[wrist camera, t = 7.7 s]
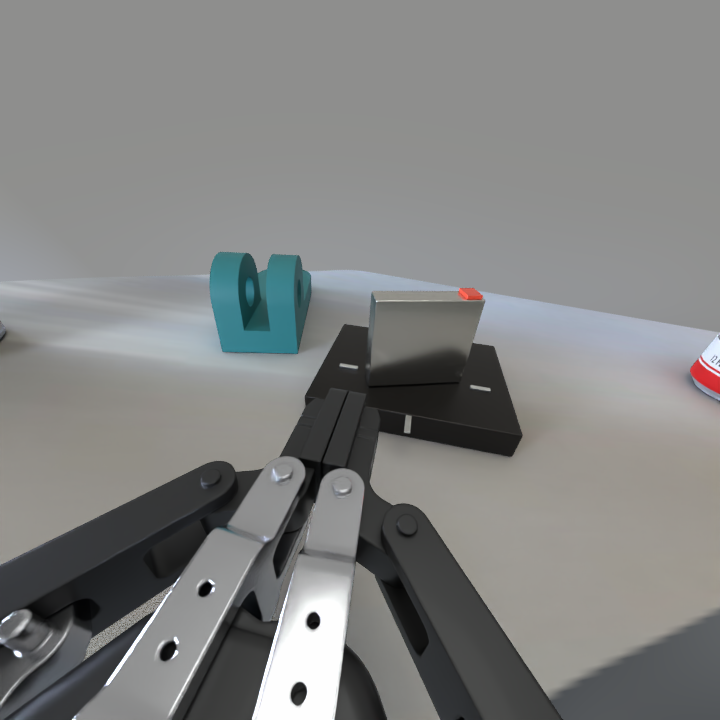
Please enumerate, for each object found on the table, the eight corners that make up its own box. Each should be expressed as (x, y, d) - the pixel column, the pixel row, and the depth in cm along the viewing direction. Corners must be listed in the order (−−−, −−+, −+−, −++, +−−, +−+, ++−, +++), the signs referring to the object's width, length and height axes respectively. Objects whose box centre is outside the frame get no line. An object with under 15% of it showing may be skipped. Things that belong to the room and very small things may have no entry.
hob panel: (297, 434, 20) (295, 410, 19) (343, 341, 31) (344, 322, 29) (517, 478, 18) (531, 455, 17) (487, 364, 29) (494, 344, 28)
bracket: (297, 353, 28) (291, 269, 24) (222, 351, 28) (202, 265, 23) (313, 284, 43) (311, 224, 39) (264, 282, 43) (257, 221, 38)
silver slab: (368, 386, 22) (376, 296, 18) (364, 373, 23) (371, 286, 19) (460, 382, 23) (487, 296, 19) (452, 369, 24) (475, 287, 20)
